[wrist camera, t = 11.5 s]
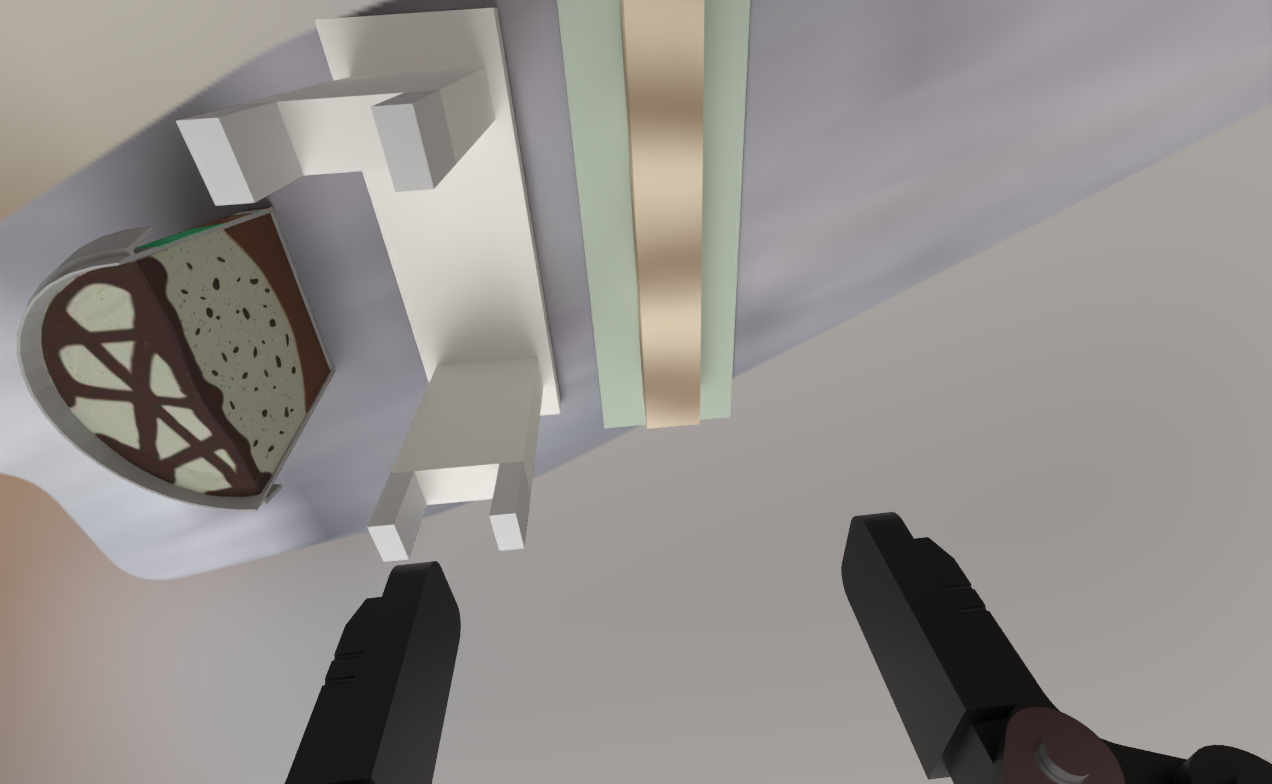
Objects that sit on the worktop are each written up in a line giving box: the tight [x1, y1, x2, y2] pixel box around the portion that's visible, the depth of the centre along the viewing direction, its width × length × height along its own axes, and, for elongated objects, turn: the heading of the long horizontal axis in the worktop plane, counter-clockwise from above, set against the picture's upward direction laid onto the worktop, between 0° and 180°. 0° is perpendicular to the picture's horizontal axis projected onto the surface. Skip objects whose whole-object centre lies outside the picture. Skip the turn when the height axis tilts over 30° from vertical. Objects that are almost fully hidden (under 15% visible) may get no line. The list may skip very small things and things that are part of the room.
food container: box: [17, 206, 335, 511], centre depth 25 cm, size 12×6×10 cm, turn 1°
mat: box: [557, 0, 750, 428], centre depth 29 cm, size 24×8×1 cm, turn 3°
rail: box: [619, 0, 705, 429], centre depth 27 cm, size 20×3×3 cm, turn 3°
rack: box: [176, 8, 561, 562], centre depth 23 cm, size 20×7×13 cm, turn 3°
